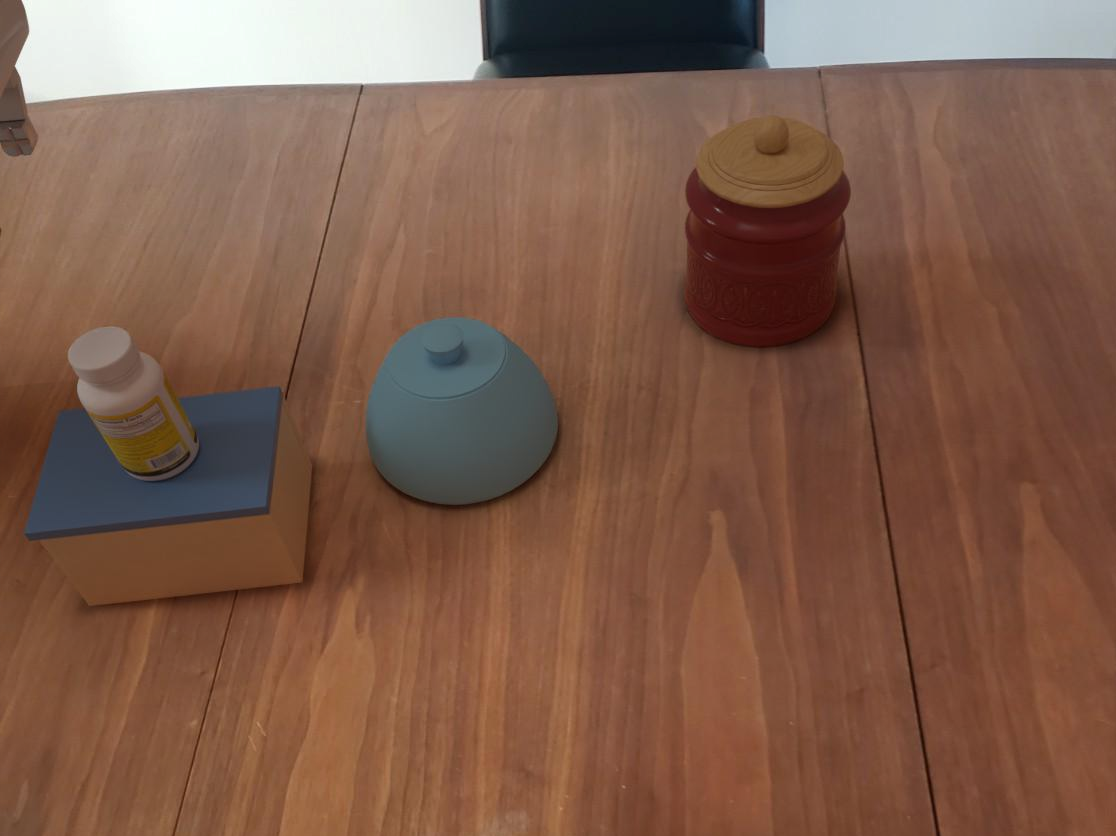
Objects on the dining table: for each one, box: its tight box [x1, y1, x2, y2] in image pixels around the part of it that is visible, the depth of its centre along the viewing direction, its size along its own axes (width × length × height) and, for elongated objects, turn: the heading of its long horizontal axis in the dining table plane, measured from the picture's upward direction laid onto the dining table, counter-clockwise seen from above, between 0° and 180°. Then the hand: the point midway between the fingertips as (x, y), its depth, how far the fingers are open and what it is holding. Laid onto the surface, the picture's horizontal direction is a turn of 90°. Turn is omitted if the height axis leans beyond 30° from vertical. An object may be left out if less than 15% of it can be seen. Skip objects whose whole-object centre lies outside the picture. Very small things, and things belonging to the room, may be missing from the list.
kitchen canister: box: [684, 114, 852, 348], centre depth 88 cm, size 13×13×18 cm
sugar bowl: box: [365, 316, 559, 506], centre depth 82 cm, size 15×15×12 cm
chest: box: [38, 394, 313, 607], centre depth 79 cm, size 16×12×9 cm
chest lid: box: [23, 386, 284, 542], centre depth 75 cm, size 16×12×1 cm
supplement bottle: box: [67, 326, 199, 481], centre depth 71 cm, size 5×5×10 cm
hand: (6, 195), depth 63 cm, fingers open, 8 cm apart
